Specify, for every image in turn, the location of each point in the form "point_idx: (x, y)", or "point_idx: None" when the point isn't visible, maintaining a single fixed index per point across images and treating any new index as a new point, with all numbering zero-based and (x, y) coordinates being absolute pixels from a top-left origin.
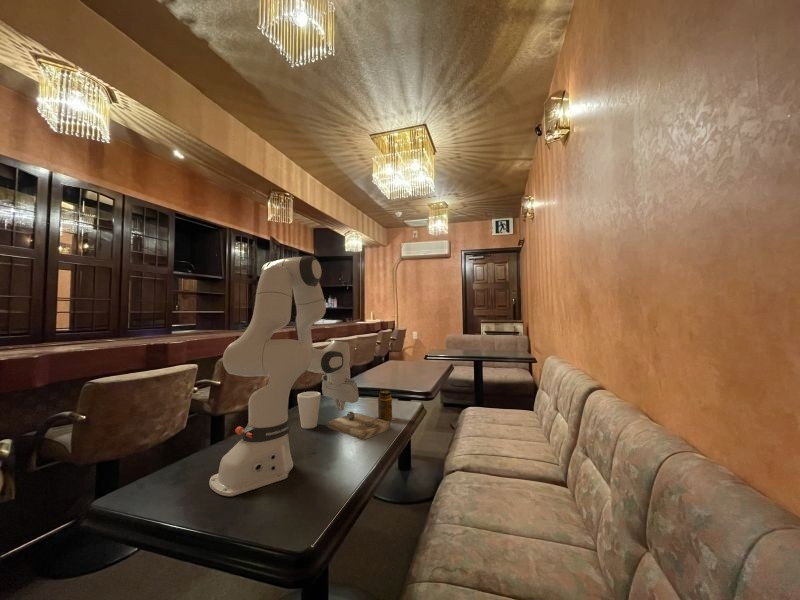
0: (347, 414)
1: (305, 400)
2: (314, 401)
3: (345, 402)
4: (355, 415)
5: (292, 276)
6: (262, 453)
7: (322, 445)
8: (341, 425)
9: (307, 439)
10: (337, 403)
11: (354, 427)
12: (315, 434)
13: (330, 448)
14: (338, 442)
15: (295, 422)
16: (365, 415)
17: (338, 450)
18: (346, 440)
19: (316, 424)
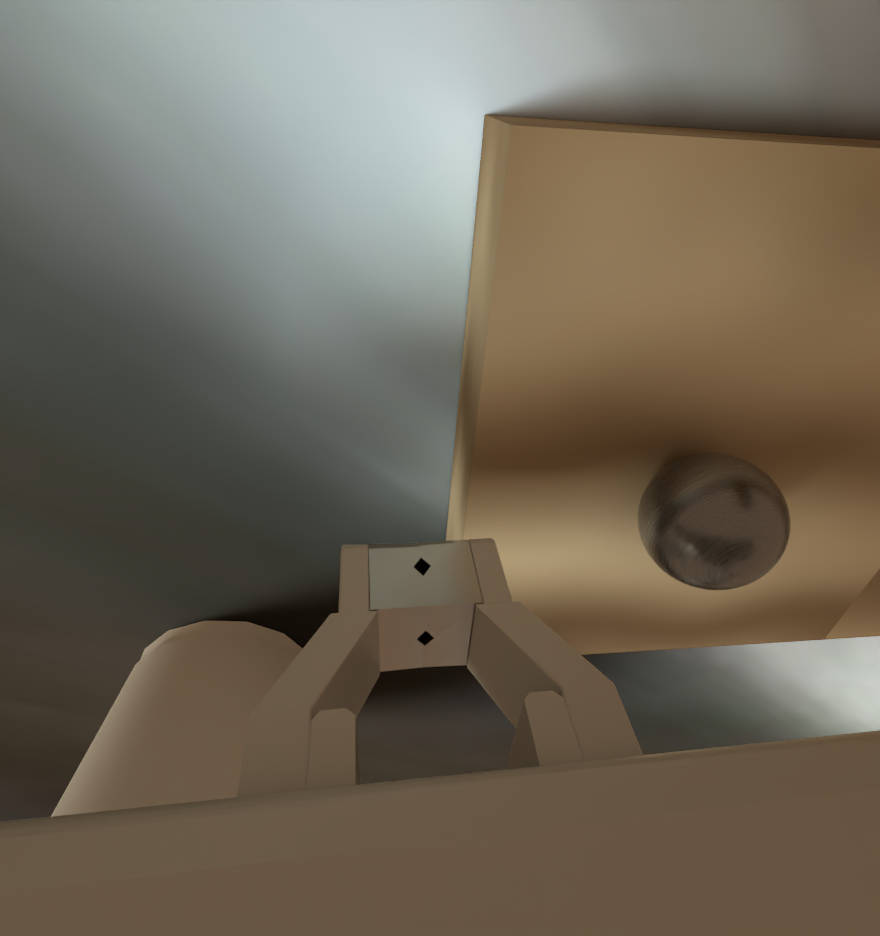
0: (687, 583)
1: None
2: None
3: (594, 668)
4: (645, 296)
5: None
6: None
7: (669, 742)
8: (684, 642)
9: (504, 757)
10: (357, 698)
11: (858, 601)
12: (477, 709)
13: (745, 734)
14: (749, 682)
15: (4, 703)
16: (864, 150)
17: (809, 722)
18: (794, 643)
19: (294, 656)
